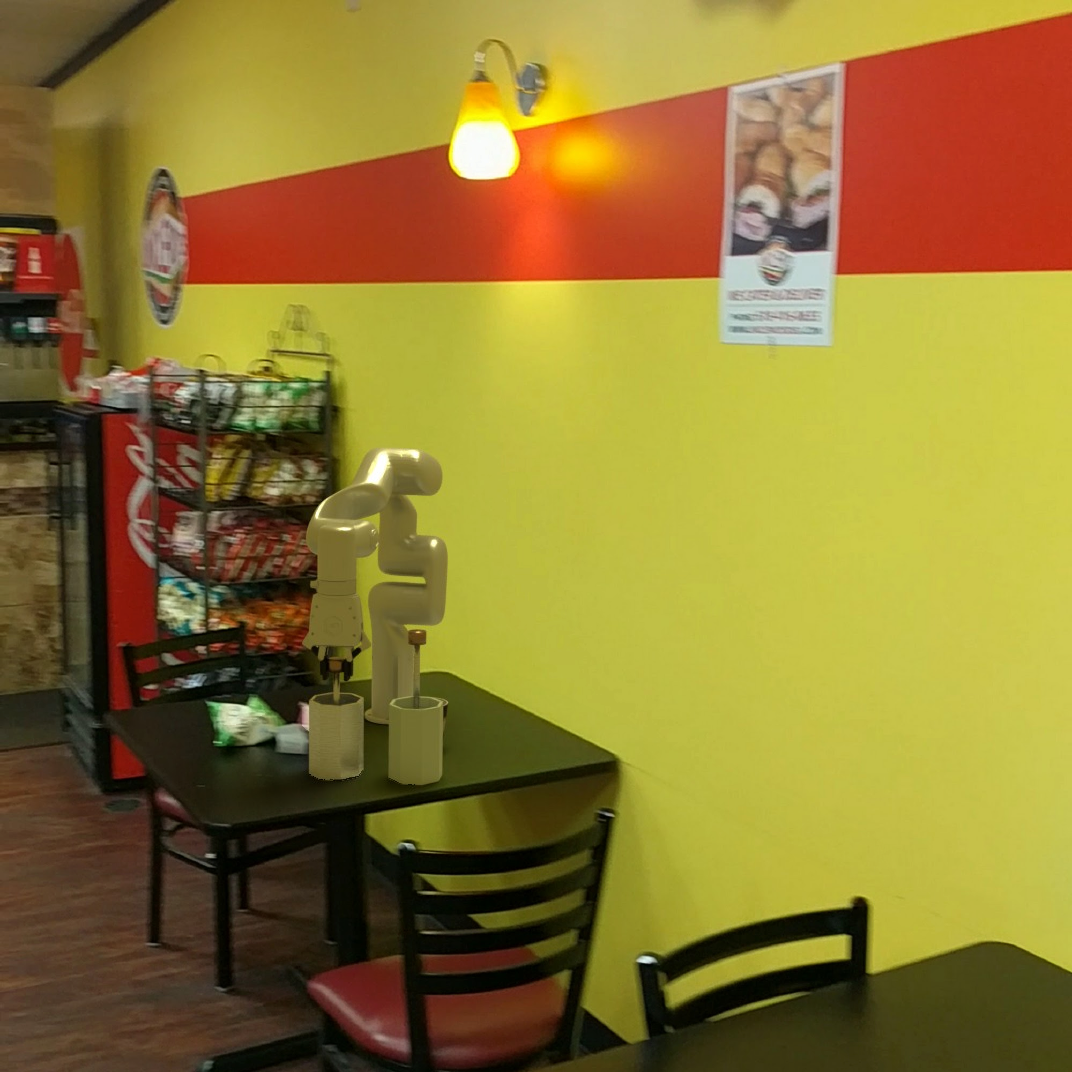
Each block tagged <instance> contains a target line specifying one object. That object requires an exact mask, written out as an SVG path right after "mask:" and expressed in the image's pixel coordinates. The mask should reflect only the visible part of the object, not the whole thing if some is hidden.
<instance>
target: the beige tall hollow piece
mask: <svg viewBox="0 0 1072 1072" xmlns="http://www.w3.org/2000/svg"><path fill="white" fill-rule="evenodd" d="M364 702H365V698H364V696H361V695H359V694H355V693H354V692H353V693H352V692H340V705H333V704H334V691H331V692H327V693H326V692H325V693H321V694H320V693H319V694H314V695H313V696H312V697H311V698H310V699H309V700H308V774H311V775H310V776H311V777H313V776H314V778H315V777H316V778H315V779H317V778H318V779H317V780H319V779H323V780H322V781H331V780H330V779H333V780H334V779H346V778H349V777H355V776H359V774H360V773H361V771H362V770H363V771H364V743H365V741H364V737H365V736H364V733H365V731H364V725H365V724H364V723H365V722H364V721H365V709H364V708H365V707H364V706H365V703H364ZM361 774H362V773H361ZM361 774H360V775H361ZM359 777H360V776H359ZM324 779H325V780H324ZM333 780H332V781H333Z"/></svg>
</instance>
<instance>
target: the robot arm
mask: <svg viewBox="0 0 1072 1072" xmlns="http://www.w3.org/2000/svg"><path fill="white" fill-rule="evenodd" d="M442 483H443V469H442V466H441V464H440V462H439V461H438V459H436V457H435V456H432V455H431V454H429V452H426V451H425V450H421V449H417V448H413V447H412V448H411V447H409V448H405V447H384V446H383V447H376V448H372V449H370V450H369V451H368V452H366V454H365V455H364V457H363V459H362V461H361V463H360V465H359V466H358V469H357V470H356V473H355V475H354V477H353V480H352V482H351V484H350V485H348V486H346V487H344V488H343V489H340V490H339V491H337V492H335V493H334V494H331V495H330V496H328V497H327V498H325V499H323V501H322V502H320V503H319V504H318V506H317V507H316V509H315V510H314V512H313V514H312V516H311V518H310V521H309V523H308V526H307V530H306V534H305V542H306V547H307V548H308V550H309V551H310V552H311V553H312V554H314V555H316V556H317V578H316V580H310V584H309V585H310V588H311V589H315V590H316V593H314V594H312V599H311V605H310V614H309V615H310V616H309V626H308V627H309V628H308V632H307V634H306V636H305V637H304V638H303V640H302V641H301V642H302V643H301V644H302V645H303V646H304V647H305V648H307V649H308V650H310V651H311V652H312V653H313V654H314V655H315V656H316V657H317V659H318V660H319V676H321V677H322V679H321V680H322V681H327V680H328V679H329V678H330V677H331V673H330V672H328V671H327V659H328V658H330V657H329V656H328V651H329V647H334V648H337V647H338V648H344V652H345V657H344V658H345V662H344V672H343V681H344V682H349V680H351V677H353V676H354V659H356V657H357V656H359V655H360V654H361V653H362V652H364V651H366V650H368V649H370V648H371V708H369V709H367V710H366V711H364V720H366V721H368V722H370V723H374V724H379V725H380V724H381V725H389V704H390V703H391V702H392V700H393V699H397V698H403V697H408V696H413V689H414V645H410V644H408V631H409V630H408V629H407V628H406V626H407V625H413V626H428V627H429V626H430V627H431V626H433V627H434V626H438V625H439V624H440V623H442V621H443V620H444V617H445V613H446V603H447V601H446V599H447V580H448V566H449V565H448V564H449V563H448V562H449V560H448V559H449V558H448V557H449V555H448V547H447V545H446V543H445V541H444V540H443V539H442V538H441V537H438V536H435V535H428V534H426V535H422V534H420V535H419V534H418V532H417V528H418V527H417V526H418V525H417V524H418V512H417V509H416V507H415V506H414V504H413V503H412V501H411V499H409V497H408V496H419V497H421V496H422V497H423V496H425V497H427V496H428V497H431V496H434V495H436V494H437V493H438V492H439V491H440V489H441V487H442ZM377 514H379V527H378V529H377V527H376V525H375V524H374V523H372V522H371V521H368V520H363V519H364V518H368V517H371V516H372V517H373V516H375V515H377ZM376 550H377V565H378V569H379V571H381V573H383V574H385V575H387V576H388V575H389V576H395V577H414V578H415V577H416V578H423V579H424V582H425V583H421V582H410V581H409V582H407V581H381V582H379V583H376V584H374V585H373V586H372V587H371V589H370V590H369V593H368V597H367V604H368V605H367V606H368V612H369V619H370V627H371V641H370V639H369V638H368V636H367V635H366V632H365V631H364V617H363V616H364V615H363V607H362V601H361V597H360V594H359V593H357V559H358V558H360V559H361V558H368V557H370V556H372V554H373V553H374V552H375V551H376ZM360 643H361V644H360ZM359 644H360V645H359ZM355 647H356V648H355Z"/></svg>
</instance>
